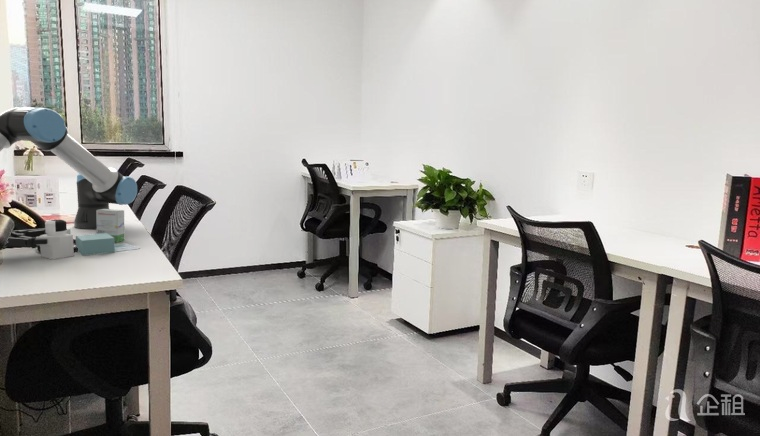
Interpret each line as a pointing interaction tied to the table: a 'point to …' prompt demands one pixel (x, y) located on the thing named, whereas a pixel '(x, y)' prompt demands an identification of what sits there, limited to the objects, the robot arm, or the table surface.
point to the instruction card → (124, 247)
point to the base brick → (95, 244)
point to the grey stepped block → (66, 240)
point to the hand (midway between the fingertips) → (65, 236)
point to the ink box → (111, 223)
